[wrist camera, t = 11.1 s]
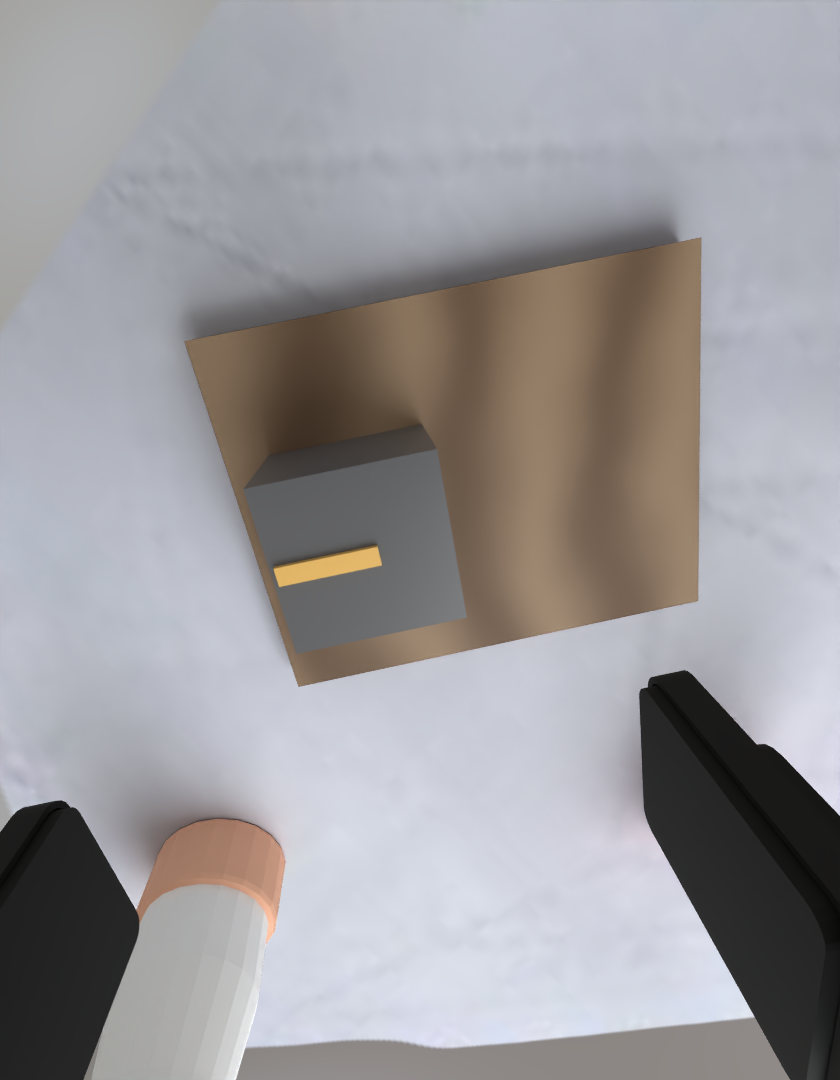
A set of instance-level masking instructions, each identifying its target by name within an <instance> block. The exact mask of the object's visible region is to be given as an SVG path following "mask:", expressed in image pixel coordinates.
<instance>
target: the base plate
mask: <svg viewBox="0 0 840 1080" xmlns="http://www.w3.org/2000/svg"><path fill="white" fill-rule="evenodd" d="M700 322H701V238H696V239H691V240H686V241H682V242H677V243H672V244H667V245H662V246H657V247H652V248H647V249H642V250H637V251H632V252H627V253H622V254H617V255H612V256H607V257H602V258H597V259H592V260H587V261H582V262H577V263H572V264H567V265H562V266H557V267H552V268H547V269H542V270H537V271H532V272H527V273H522V274H517V275H512V276H507V277H502V278H497V279H492V280H487V281H482V282H477V283H472V284H467V285H462V286H457V287H453V288H448V289H443V290H438V291H433V292H428V293H423V294H418V295H413V296H408V297H403V298H398V299H393V300H388V301H383V302H378V303H373V304H368V305H363V306H358V307H353V308H348V309H343V310H338V311H333V312H328V313H323V314H318V315H313V316H308V317H303V318H298V319H293V320H288V321H283V322H278V323H273V324H268V325H263V326H258V327H253V328H248V329H243V330H238V331H233V332H228V333H224V334H219V335H214V336H209V337H204V338H199V339H194V340H189V341H185V345H186V348H187V351H188V354H189V357H190V360H191V363H192V366H193V369H194V372H195V375H196V378H197V381H198V384H199V387H200V390H201V393H202V396H203V399H204V402H205V405H206V408H207V411H208V414H209V417H210V420H211V423H212V426H213V429H214V432H215V435H216V438H217V441H218V444H219V447H220V450H221V454H222V457H223V460H224V463H225V466H226V469H227V472H228V475H229V478H230V481H231V484H232V487H233V490H234V493H235V496H236V499H237V502H238V505H239V508H240V511H241V514H242V517H243V520H244V523H245V526H246V529H247V532H248V535H249V538H250V541H251V544H252V547H253V550H254V553H255V556H256V560H257V563H258V566H259V569H260V572H261V575H262V578H263V581H264V584H265V587H266V590H267V593H268V596H269V599H270V602H271V605H272V608H273V611H274V614H275V617H276V620H277V623H278V626H279V629H280V632H281V635H282V638H283V641H284V644H285V647H286V650H287V653H288V656H289V659H290V662H291V665H292V669H293V672H294V675H295V678H296V681H297V684H298V687H300V686H305V685H309V684H314V683H318V682H323V681H328V680H332V679H337V678H342V677H346V676H351V675H356V674H360V673H365V672H370V671H374V670H379V669H384V668H388V667H393V666H398V665H402V664H407V663H412V662H416V661H421V660H426V659H430V658H435V657H440V656H444V655H449V654H453V653H458V652H463V651H467V650H472V649H477V648H481V647H486V646H491V645H495V644H500V643H505V642H509V641H514V640H519V639H523V638H528V637H533V636H537V635H542V634H547V633H551V632H556V631H561V630H565V629H570V628H575V627H579V626H584V625H588V624H593V623H598V622H602V621H607V620H612V619H616V618H621V617H626V616H630V615H635V614H640V613H644V612H649V611H654V610H658V609H663V608H668V607H672V606H677V605H682V604H686V603H691V602H696V601H698V549H699V435H700ZM420 424H422V425H423V426H424V428H425V430H426V431H427V433H428V435H429V436H430V438H431V440H432V441H433V443H434V445H435V446H436V448H437V451H438V457H439V462H440V468H441V474H442V479H443V485H444V491H445V496H446V502H447V508H448V513H449V519H450V525H451V530H452V536H453V542H454V547H455V553H456V559H457V564H458V570H459V575H460V581H461V587H462V592H463V598H464V604H465V609H466V615H467V618H463V619H458V620H453V621H449V622H444V623H439V624H435V625H430V626H425V627H420V628H416V629H411V630H406V631H402V632H397V633H392V634H388V635H383V636H378V637H374V638H369V639H364V640H360V641H355V642H350V643H346V644H341V645H336V646H332V647H327V648H322V649H317V650H313V651H308V652H303V653H299V654H296V651H295V648H294V645H293V642H292V639H291V636H290V632H289V629H288V626H287V623H286V620H285V617H284V614H283V611H282V608H281V605H280V601H279V598H278V595H277V592H276V589H275V586H274V583H273V580H272V577H271V574H270V571H269V567H268V564H267V561H266V558H265V555H264V552H263V549H262V546H261V543H260V540H259V536H258V533H257V530H256V527H255V524H254V521H253V518H252V515H251V512H250V509H249V506H248V502H247V499H246V496H245V493H244V490H243V489H244V487H245V486H246V485H247V483H248V482H249V481H250V479H251V478H252V477H253V476H254V474H255V473H256V472H257V470H258V469H259V468H260V466H261V465H262V464H263V462H264V461H265V460H266V458H267V457H268V456H269V455H274V454H279V453H284V452H288V451H293V450H298V449H303V448H308V447H313V446H318V445H322V444H327V443H332V442H337V441H342V440H347V439H352V438H356V437H361V436H366V435H371V434H376V433H381V432H386V431H390V430H395V429H400V428H405V427H410V426H415V425H420Z"/></svg>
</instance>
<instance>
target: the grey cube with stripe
mask: <svg viewBox="0 0 840 1080" xmlns="http://www.w3.org/2000/svg"><path fill="white" fill-rule="evenodd" d="M243 490H244V493H245V496H246V499H247V502H248V506H249V509H250V512H251V515H252V518H253V521H254V524H255V527H256V530H257V533H258V536H259V540H260V543H261V546H262V549H263V552H264V555H265V558H266V561H267V564H268V567H269V571H270V574H271V577H272V580H273V583H274V586H275V589H276V592H277V595H278V598H279V601H280V605H281V608H282V611H283V614H284V617H285V620H286V623H287V626H288V629H289V632H290V636H291V639H292V642H293V645H294V648H295V651H296V654H299V653H303V652H308V651H313V650H317V649H322V648H327V647H332V646H336V645H341V644H346V643H350V642H355V641H360V640H364V639H369V638H374V637H378V636H383V635H388V634H392V633H397V632H402V631H406V630H411V629H416V628H420V627H425V626H430V625H435V624H439V623H444V622H449V621H453V620H458V619H463V618H467V615H466V609H465V604H464V598H463V592H462V587H461V581H460V575H459V570H458V564H457V559H456V553H455V547H454V542H453V536H452V530H451V525H450V519H449V513H448V508H447V502H446V496H445V491H444V485H443V479H442V474H441V468H440V462H439V457H438V451H437V448H436V446H435V445H434V443H433V441H432V440H431V438H430V436H429V435H428V433H427V431H426V430H425V428H424V426H423V425H422V424H420V425H415V426H410V427H405V428H400V429H395V430H390V431H386V432H381V433H376V434H371V435H366V436H361V437H356V438H352V439H347V440H342V441H337V442H332V443H327V444H322V445H318V446H313V447H308V448H303V449H298V450H293V451H288V452H284V453H279V454H274V455H269V456H268V457H267V458H266V460H265V461H264V462H263V464H262V465H261V466H260V468H259V469H258V470H257V472H256V473H255V474H254V476H253V477H252V478H251V479H250V481H249V482H248V483H247V485H246V486H245V487H244V489H243Z"/></svg>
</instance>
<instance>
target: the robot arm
mask: <svg viewBox="0 0 840 1080" xmlns="http://www.w3.org/2000/svg"><path fill="white" fill-rule="evenodd" d="M639 700H640V724H641V748H642V773H643V797H644V811H645V815H646V818H647V821H648V824H649V826H650V829H651V831H652V833H653V834H654V836H655V838H656V840H657V842H658V843H659V845H660V847H661V849H662V851H663V852H664V854H665V856H666V858H667V860H668V861H669V863H670V865H671V867H672V869H673V870H674V872H675V874H676V876H677V878H678V879H679V881H680V883H681V885H682V887H683V888H684V890H685V892H686V894H687V896H688V897H689V899H690V901H691V903H692V905H693V906H694V908H695V910H696V912H697V914H698V915H699V917H700V919H701V921H702V923H703V924H704V926H705V928H706V930H707V932H708V933H709V935H710V937H711V939H712V941H713V942H714V944H715V946H716V948H717V950H718V951H719V953H720V955H721V957H722V959H723V960H724V962H725V964H726V966H727V968H728V969H729V971H730V973H731V975H732V977H733V978H734V980H735V982H736V984H737V986H738V987H739V989H740V991H741V993H742V995H743V996H744V998H745V1000H746V1002H747V1004H748V1005H749V1007H750V1009H751V1011H752V1013H753V1014H754V1016H755V1018H756V1020H757V1022H758V1023H759V1025H760V1027H761V1029H762V1030H763V1032H764V1034H765V1036H766V1038H767V1040H768V1041H769V1043H770V1045H771V1047H772V1049H773V1050H774V1052H775V1054H776V1056H777V1058H778V1059H779V1061H780V1063H781V1065H782V1067H783V1068H784V1070H785V1072H786V1073H787V1075H788V1077H789V1078H790V1080H840V816H839V815H838V814H837V813H836V811H835V810H834V809H833V808H832V807H831V806H830V805H829V804H828V803H827V802H826V801H825V800H824V799H823V798H822V797H821V796H820V795H819V794H818V793H817V792H816V791H815V790H814V789H813V787H812V786H811V785H810V784H809V783H808V782H807V781H806V780H805V779H804V778H803V777H802V776H801V775H800V774H799V773H798V772H797V771H796V770H795V769H794V768H793V767H792V766H791V765H790V763H789V762H788V761H787V760H786V759H785V758H784V757H783V756H782V755H781V754H779V753H778V752H777V751H776V750H775V749H774V748H772V747H770V746H768V745H766V744H759V745H757V744H756V743H755V742H754V741H753V740H752V739H751V738H750V737H749V736H748V735H747V734H746V733H745V731H744V730H743V729H742V728H741V727H740V726H739V725H738V724H737V723H736V722H735V721H734V720H733V718H732V717H731V716H730V715H729V714H728V713H727V712H726V711H725V710H724V709H723V708H722V707H721V705H720V704H719V703H718V702H717V701H716V700H715V699H714V698H713V697H712V696H711V695H710V694H709V692H708V691H707V690H706V689H705V688H704V687H703V686H702V685H701V684H700V683H699V682H698V681H697V679H696V678H695V677H694V676H693V675H692V674H691V673H689V672H688V671H685V670H684V671H679V672H674V673H669V674H664V675H659V676H655V677H651V678H650V679H649V682H648V688H643V689H641V690H640V693H639ZM138 934H139V916H138V913H137V911H136V909H135V908H134V906H133V904H132V902H131V901H130V899H129V897H128V895H127V894H126V892H125V890H124V888H123V887H122V885H121V883H120V882H119V880H118V878H117V876H116V875H115V873H114V871H113V869H112V868H111V866H110V864H109V862H108V861H107V859H106V857H105V856H104V854H103V852H102V850H101V849H100V847H99V845H98V843H97V842H96V840H95V838H94V837H93V835H92V833H91V831H90V830H89V828H88V826H87V824H86V823H85V821H84V819H83V817H82V816H81V814H80V812H79V811H78V810H77V809H75V808H73V807H72V808H71V807H70V806H69V805H68V804H67V803H66V802H64V801H62V800H61V801H53V802H48V803H43V804H39V805H34V806H29V807H24V808H22V809H20V810H18V811H17V812H16V813H15V814H14V815H13V816H12V817H11V818H10V820H9V821H8V823H7V824H6V825H5V827H4V828H3V829H2V831H1V832H0V1080H83V1079H84V1076H85V1074H86V1071H87V1069H88V1066H89V1063H90V1061H91V1058H92V1056H93V1053H94V1050H95V1048H96V1045H97V1043H98V1040H99V1037H100V1035H101V1032H102V1030H103V1027H104V1024H105V1022H106V1019H107V1017H108V1014H109V1011H110V1009H111V1006H112V1004H113V1001H114V998H115V996H116V993H117V991H118V988H119V985H120V983H121V980H122V978H123V975H124V972H125V970H126V967H127V965H128V962H129V959H130V957H131V954H132V952H133V949H134V946H135V944H136V941H137V938H138Z"/></svg>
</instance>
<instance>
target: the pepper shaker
mask: <svg viewBox="0 0 840 1080" xmlns="http://www.w3.org/2000/svg"><path fill="white" fill-rule="evenodd" d="M284 867H285V859H284V855H283V852H282V848H281V847H280V846H279V844H278V843H277V842H276V841H275V839H274V838H273V837H272V836H271V835H270V834H268V833H267V832H265V831H263V830H262V829H260V828H259V827H257V826H255V825H252V824H248V823H245V822H242V821H239V820H229V819H212V820H205V821H199V822H195V823H193V824H191V825H188V826H186V827H184V828H181V829H179V830H178V831H177V832H175V833H174V834H173V835H172V836H171V837H169V838H168V839H167V840H166V841H165V843H164V845H163V847H162V849H161V850H160V852H159V854H158V857H157V859H156V862H155V864H154V867H153V869H152V872H151V874H150V877H149V880H148V882H147V885H146V887H145V890H144V892H143V895H142V897H141V900H140V902H139V905H138V908H137V910H136V911H137V913H138V916H139V934H138V938H137V941H136V944H135V946H134V949H133V952H132V954H131V957H130V959H129V962H128V965H127V967H126V970H125V972H124V975H123V978H122V980H121V983H120V985H119V988H118V991H117V993H116V996H115V998H114V1001H113V1004H112V1006H111V1009H110V1011H109V1014H108V1017H107V1019H106V1022H105V1024H104V1028H103V1032H102V1037H101V1041H100V1045H99V1049H98V1053H97V1058H96V1062H95V1066H94V1070H93V1075H92V1079H91V1080H236V1077H237V1074H238V1070H239V1067H240V1063H241V1060H242V1056H243V1053H244V1050H245V1046H246V1043H247V1040H248V1036H249V1033H250V1029H251V1026H252V1023H253V1019H254V1016H255V1012H256V1009H257V1004H258V997H259V991H260V983H261V976H262V968H263V960H264V953H265V945H266V943H267V942H268V940H269V939H270V937H271V936H272V934H273V933H274V931H275V927H276V921H277V914H278V908H279V901H280V894H281V888H282V881H283V874H284Z"/></svg>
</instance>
